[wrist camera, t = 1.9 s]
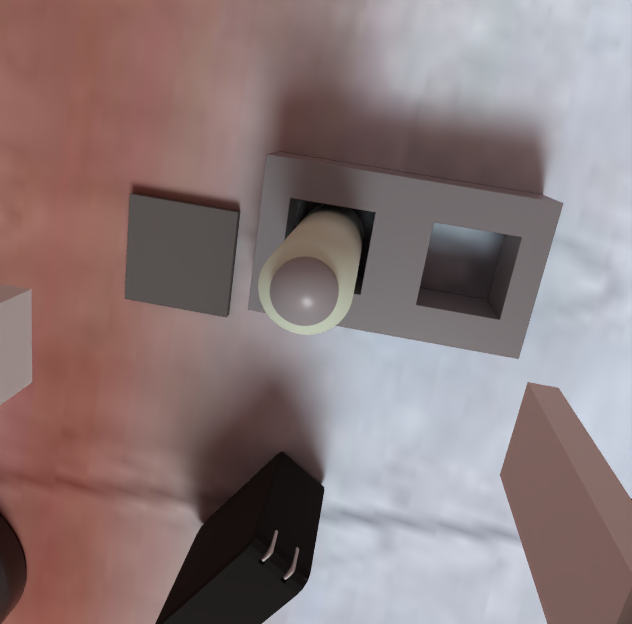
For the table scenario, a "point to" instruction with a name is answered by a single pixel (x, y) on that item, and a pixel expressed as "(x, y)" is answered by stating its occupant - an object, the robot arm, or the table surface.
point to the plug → (313, 271)
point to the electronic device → (250, 551)
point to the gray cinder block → (417, 248)
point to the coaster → (181, 254)
